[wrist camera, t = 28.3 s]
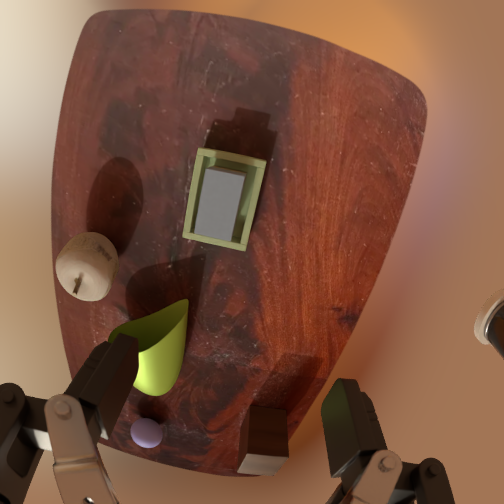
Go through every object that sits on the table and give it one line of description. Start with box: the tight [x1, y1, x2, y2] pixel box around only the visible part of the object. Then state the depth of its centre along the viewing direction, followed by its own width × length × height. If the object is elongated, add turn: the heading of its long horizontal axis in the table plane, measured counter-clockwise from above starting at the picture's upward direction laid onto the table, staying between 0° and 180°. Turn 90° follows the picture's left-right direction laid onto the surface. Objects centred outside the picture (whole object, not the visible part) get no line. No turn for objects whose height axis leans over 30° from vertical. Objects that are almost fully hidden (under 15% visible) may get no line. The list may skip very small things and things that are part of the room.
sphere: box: [131, 418, 162, 448], centre depth 48 cm, size 7×7×7 cm
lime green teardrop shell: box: [108, 299, 189, 396], centre depth 39 cm, size 8×12×20 cm
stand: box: [237, 405, 289, 476], centre depth 44 cm, size 9×7×11 cm
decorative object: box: [56, 232, 119, 301], centre depth 33 cm, size 9×9×10 cm
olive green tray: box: [183, 147, 267, 251], centre depth 33 cm, size 11×8×3 cm
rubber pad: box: [194, 167, 246, 241], centre depth 30 cm, size 7×4×2 cm, turn 167°
